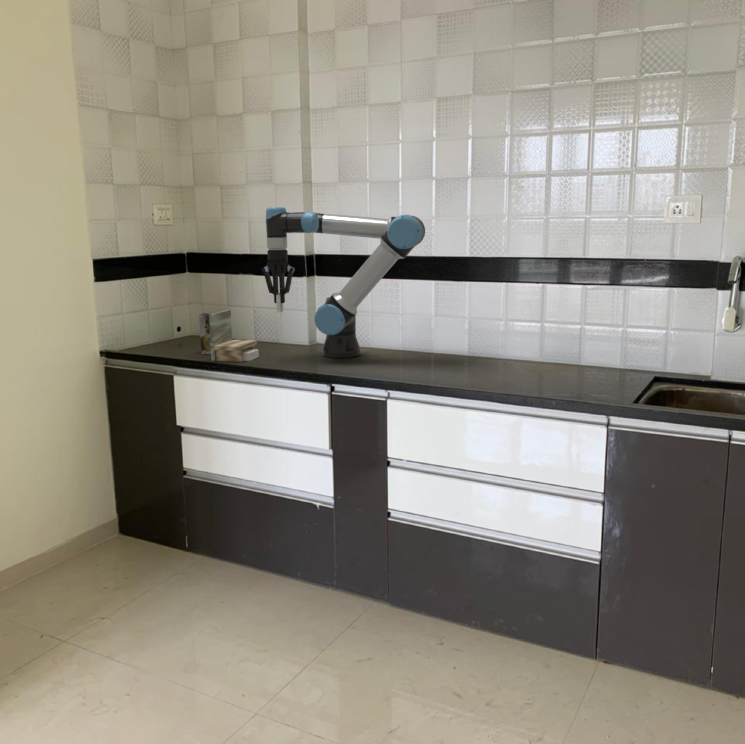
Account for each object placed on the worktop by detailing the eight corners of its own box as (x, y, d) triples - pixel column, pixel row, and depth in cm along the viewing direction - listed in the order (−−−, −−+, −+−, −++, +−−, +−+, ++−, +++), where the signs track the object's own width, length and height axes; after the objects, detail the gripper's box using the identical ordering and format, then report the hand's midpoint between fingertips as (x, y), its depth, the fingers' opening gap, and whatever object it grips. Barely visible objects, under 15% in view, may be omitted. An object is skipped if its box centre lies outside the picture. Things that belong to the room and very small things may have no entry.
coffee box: (227, 351, 306) (225, 312, 302) (222, 354, 299) (220, 314, 296) (205, 351, 306) (203, 312, 303) (200, 354, 300) (198, 314, 297)
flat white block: (258, 356, 292) (258, 349, 292) (249, 360, 284) (249, 353, 283) (233, 355, 295) (232, 348, 294) (223, 359, 286) (223, 352, 286)
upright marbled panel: (257, 355, 296) (255, 310, 293) (241, 362, 281) (238, 315, 277) (229, 354, 299) (227, 309, 296) (211, 361, 284) (208, 314, 280)
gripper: (297, 248, 280) (299, 310, 284) (264, 249, 283) (267, 310, 287) (290, 249, 272) (292, 313, 277) (257, 249, 275) (260, 312, 280)
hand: (279, 311), depth 282 cm, fingers closed
